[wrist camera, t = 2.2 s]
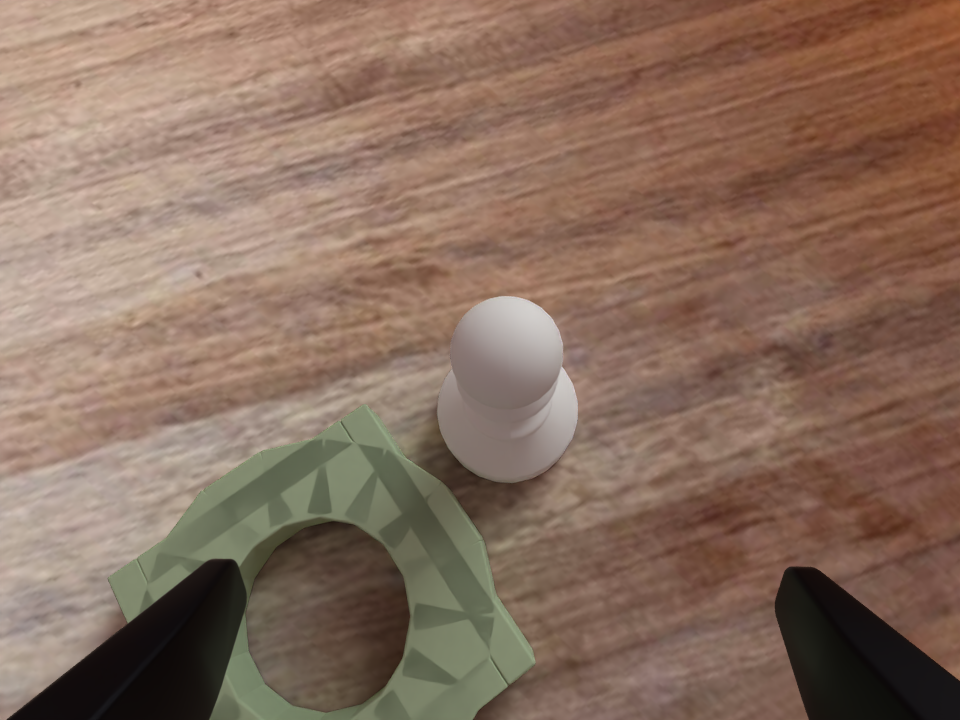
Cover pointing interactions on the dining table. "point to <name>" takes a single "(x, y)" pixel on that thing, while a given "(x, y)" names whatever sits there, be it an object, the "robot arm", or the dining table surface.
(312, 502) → the pad
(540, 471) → the chess pawn
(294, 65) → the dining table surface
